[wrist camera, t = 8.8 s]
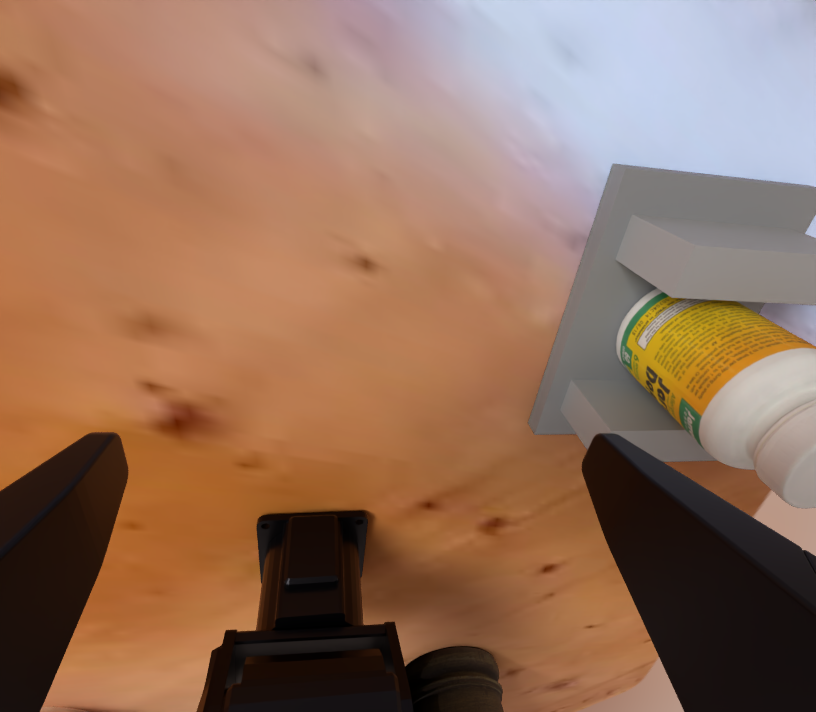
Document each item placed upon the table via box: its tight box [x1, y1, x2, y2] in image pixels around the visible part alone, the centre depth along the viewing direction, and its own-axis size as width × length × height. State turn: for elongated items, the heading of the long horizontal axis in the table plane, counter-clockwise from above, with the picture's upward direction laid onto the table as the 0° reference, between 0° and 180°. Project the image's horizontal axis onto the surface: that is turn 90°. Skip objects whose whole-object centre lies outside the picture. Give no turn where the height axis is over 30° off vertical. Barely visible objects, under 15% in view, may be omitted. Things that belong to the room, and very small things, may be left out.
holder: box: [528, 164, 816, 462], centre depth 22 cm, size 14×10×5 cm
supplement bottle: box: [616, 288, 816, 508], centre depth 19 cm, size 5×5×10 cm
